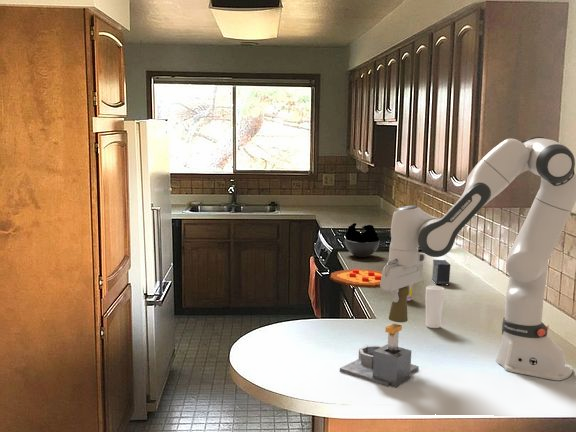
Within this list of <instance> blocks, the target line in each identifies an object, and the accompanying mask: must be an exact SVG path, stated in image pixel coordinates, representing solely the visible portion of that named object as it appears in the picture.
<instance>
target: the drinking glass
mask: <svg viewBox="0 0 576 432" xmlns="http://www.w3.org/2000/svg"><path fill="white" fill-rule="evenodd" d="M424 297H425V300H424V301H425V326H426V327H427V328H429V329H439V328H440V327H441V320H442V313H443V307H444V299H445V287H443V286H441V285H427V286H425V295H424Z"/></svg>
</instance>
